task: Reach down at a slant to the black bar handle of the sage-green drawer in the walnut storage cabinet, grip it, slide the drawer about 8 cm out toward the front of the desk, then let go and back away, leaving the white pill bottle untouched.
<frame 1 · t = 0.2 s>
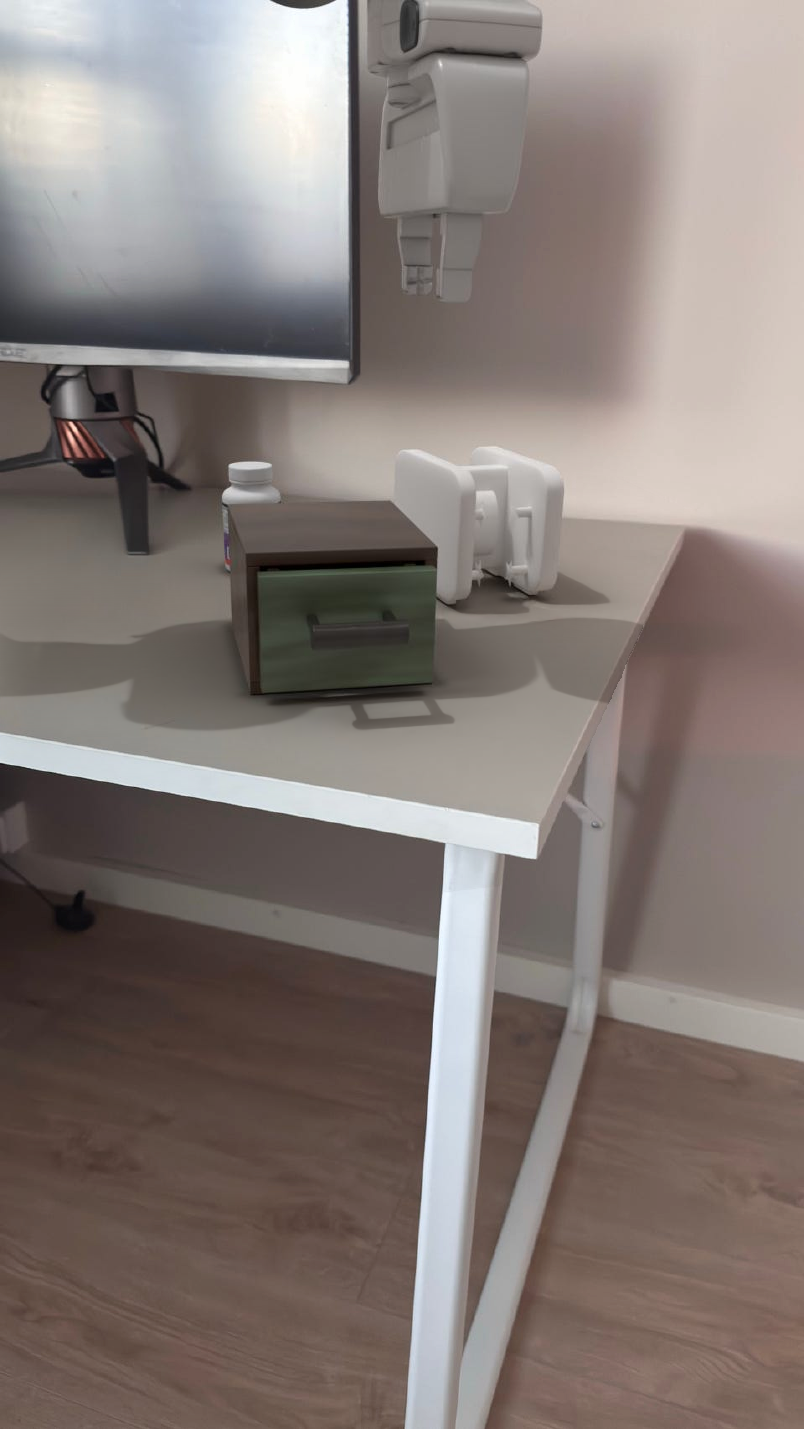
hand: (433, 298, 67), 25 cm above the table, tool pointing down, fingers open, 8 cm apart
drawer: (337, 610, 74), point 5 cm above the table, slide at 1.0 cm
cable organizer: (470, 586, 98), on the table
pill bottle: (253, 570, 102), on the table
cabinet: (326, 652, 81), on the table
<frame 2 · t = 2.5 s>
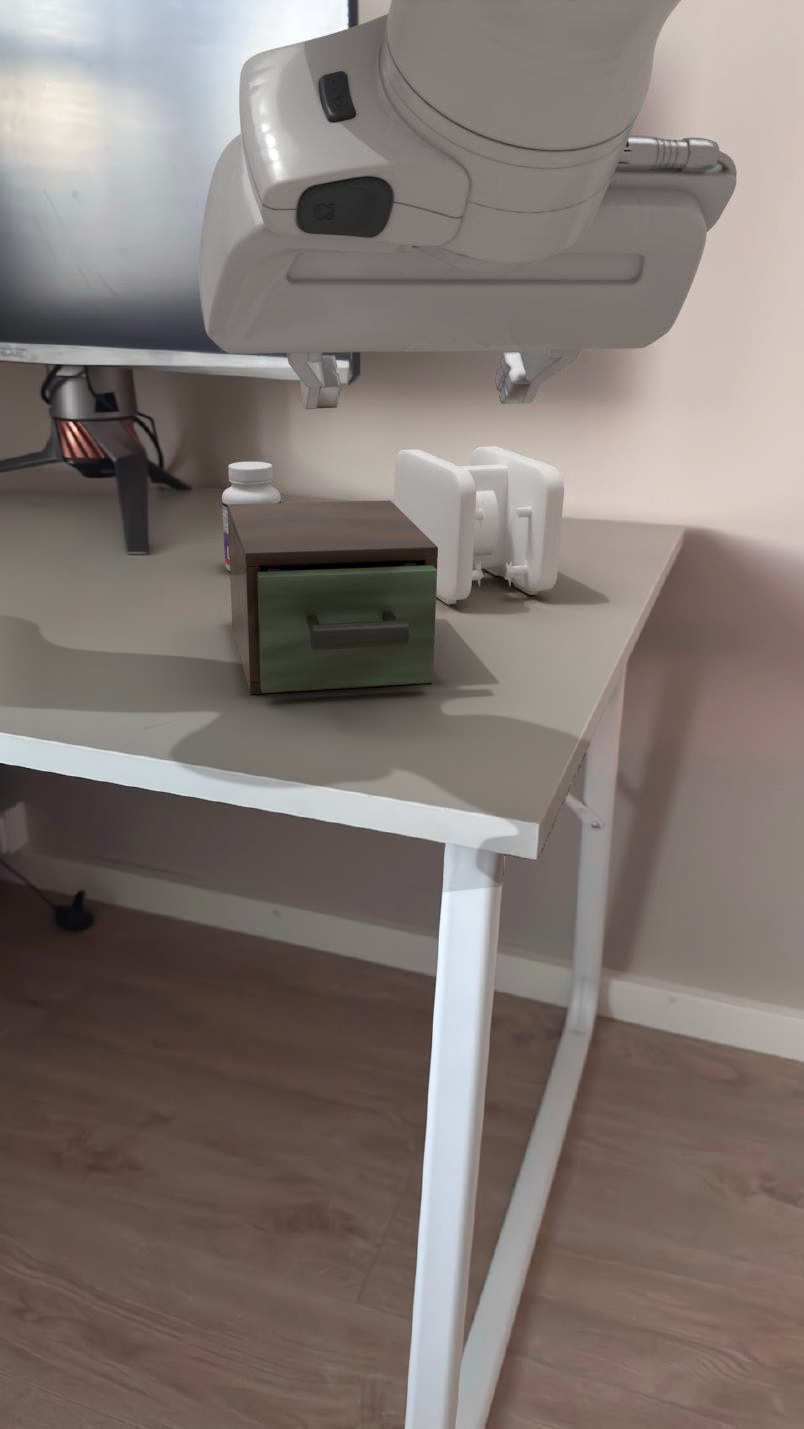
hand: (417, 395, 50), 22 cm above the table, tool tilted 45°, fingers open, 8 cm apart
nothing on the table moved.
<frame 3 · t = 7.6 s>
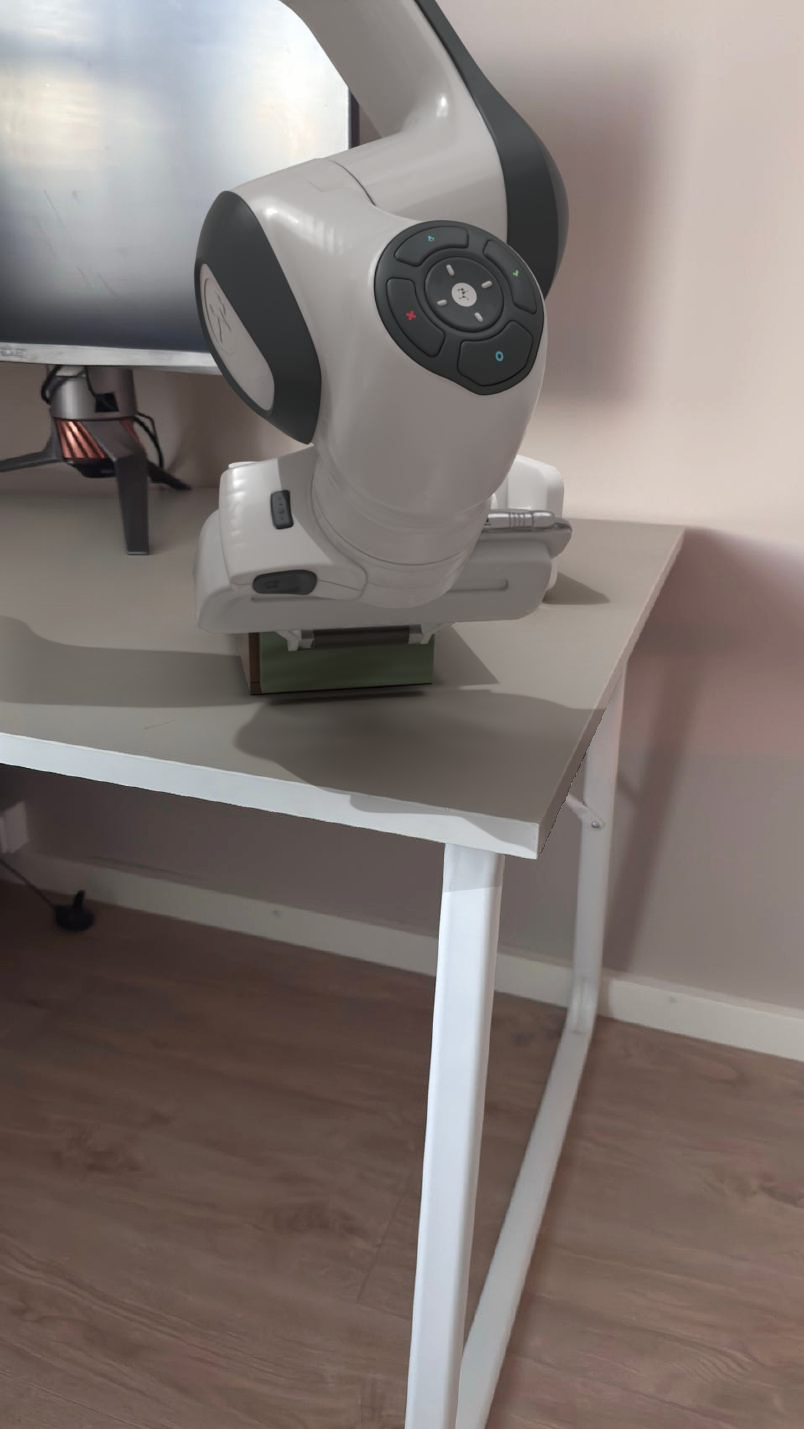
hand: (355, 637, 68), 5 cm above the table, tool tilted 45°, fingers closed on drawer, 6 cm apart
drawer: (337, 610, 74), point 5 cm above the table, slide at 1.0 cm, touching gripper
everything else where it was.
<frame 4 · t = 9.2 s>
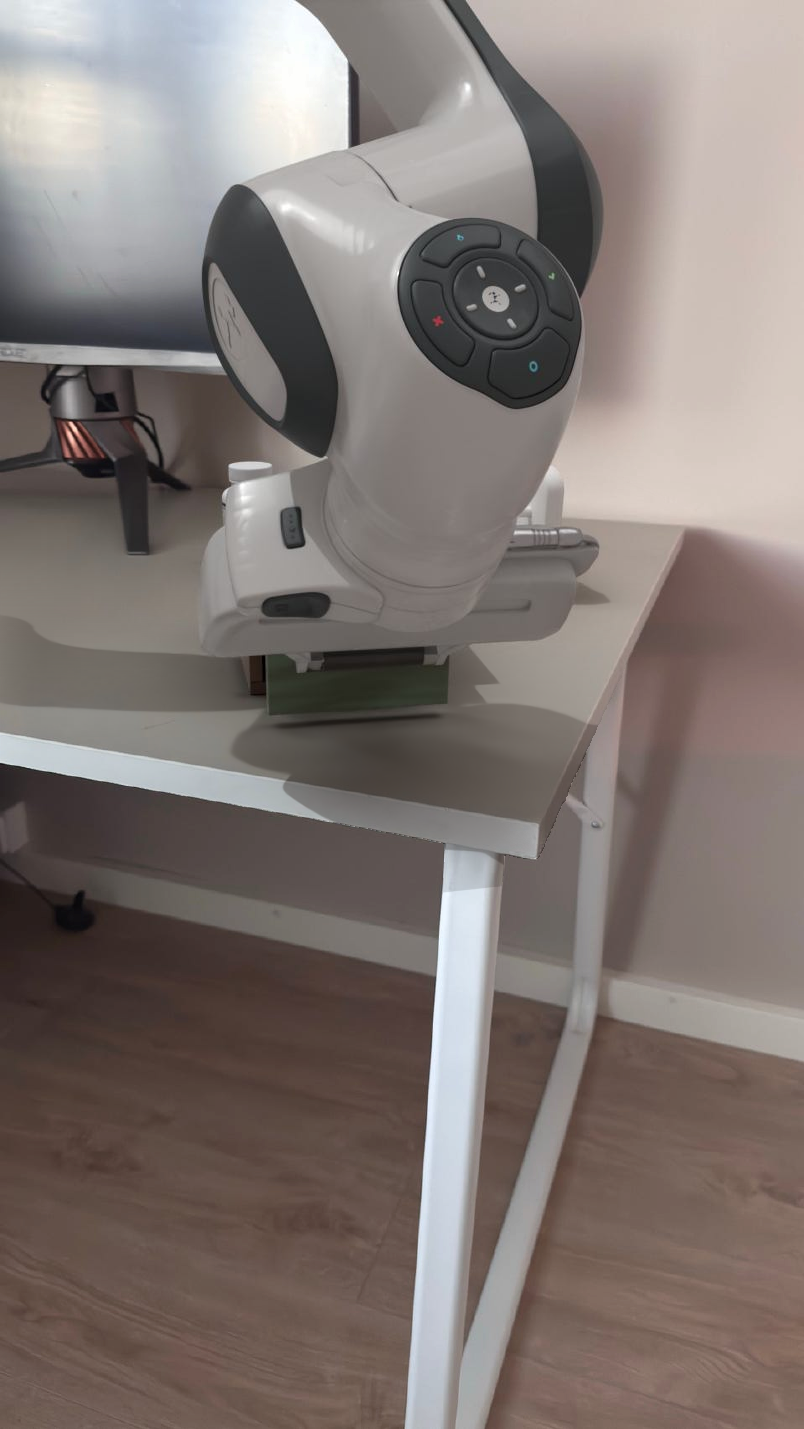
hand: (367, 657, 64), 5 cm above the table, tool tilted 45°, fingers closed on drawer, 6 cm apart
drawer: (347, 627, 71), point 5 cm above the table, slide at 4.8 cm, touching gripper
everything else where it was.
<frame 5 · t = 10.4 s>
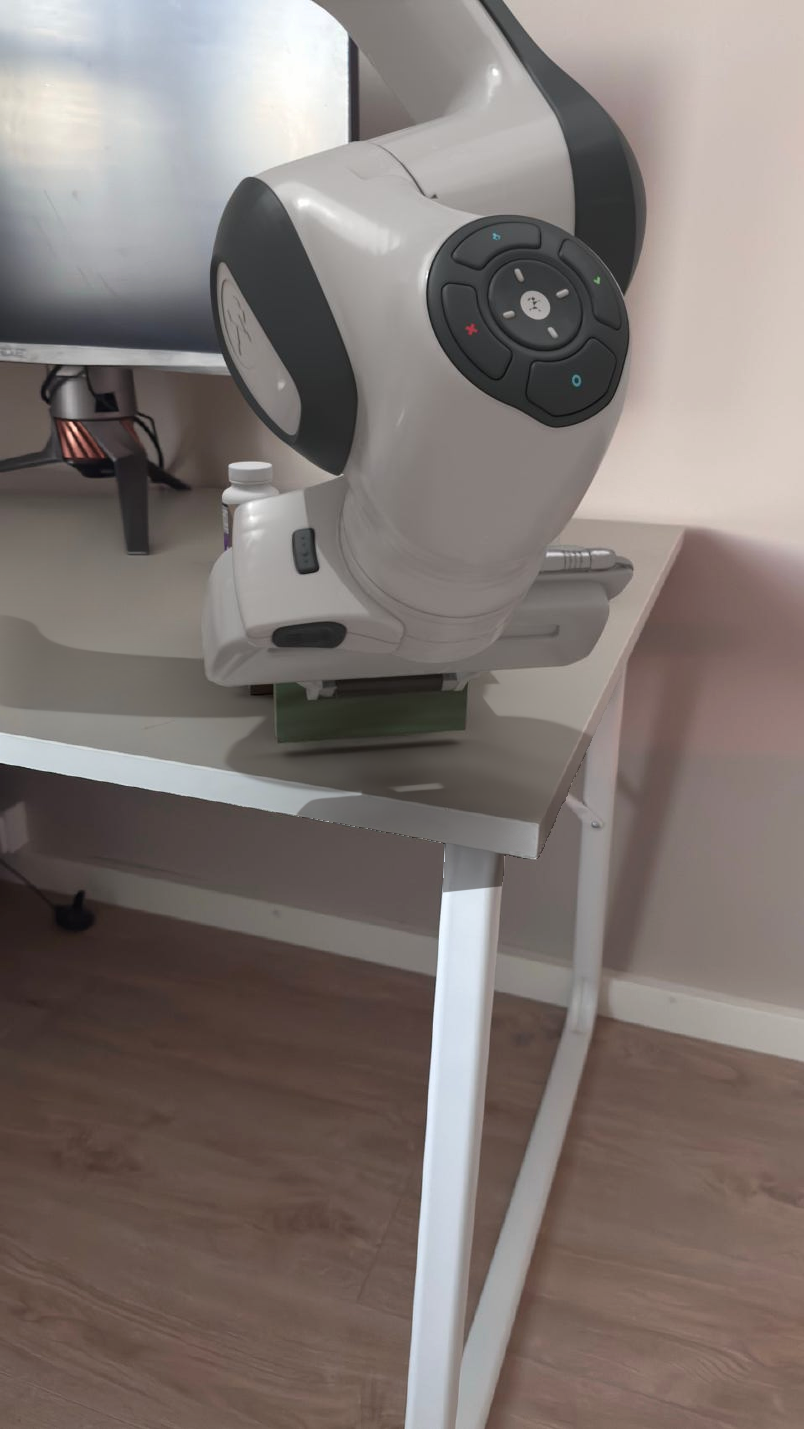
hand: (382, 683, 61), 5 cm above the table, tool tilted 45°, fingers closed on drawer, 6 cm apart
drawer: (359, 649, 67), point 5 cm above the table, slide at 9.0 cm, touching gripper
everything else where it was.
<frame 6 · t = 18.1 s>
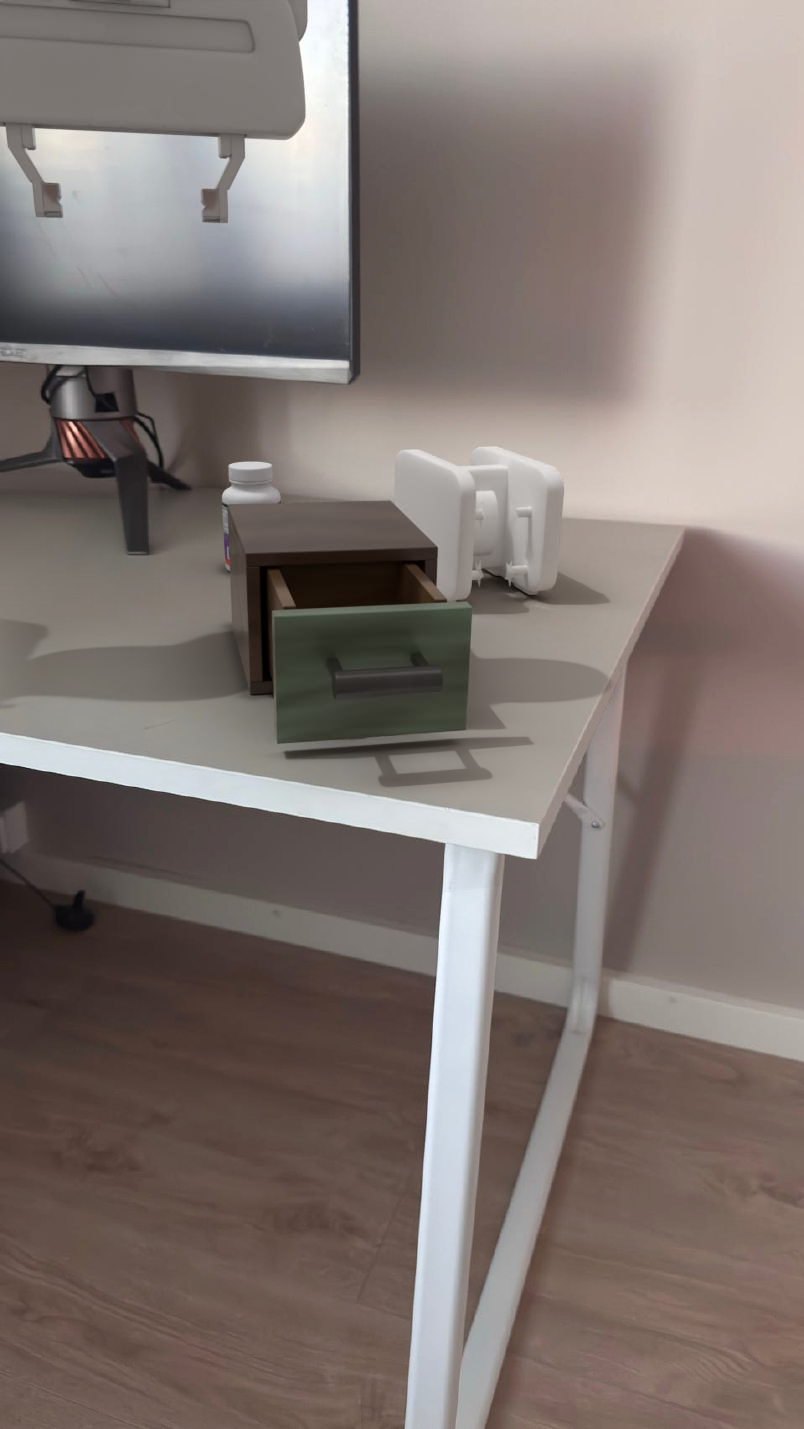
hand: (133, 220, 63), 29 cm above the table, tool pointing down, fingers open, 8 cm apart
drawer: (359, 649, 67), point 5 cm above the table, slide at 9.1 cm
everything else where it was.
at the end: drawer slide at 9.1 cm; pill bottle moved 0.2 cm from its start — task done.
